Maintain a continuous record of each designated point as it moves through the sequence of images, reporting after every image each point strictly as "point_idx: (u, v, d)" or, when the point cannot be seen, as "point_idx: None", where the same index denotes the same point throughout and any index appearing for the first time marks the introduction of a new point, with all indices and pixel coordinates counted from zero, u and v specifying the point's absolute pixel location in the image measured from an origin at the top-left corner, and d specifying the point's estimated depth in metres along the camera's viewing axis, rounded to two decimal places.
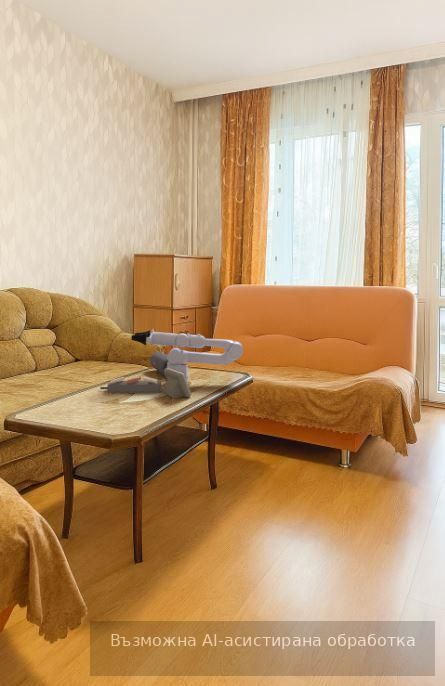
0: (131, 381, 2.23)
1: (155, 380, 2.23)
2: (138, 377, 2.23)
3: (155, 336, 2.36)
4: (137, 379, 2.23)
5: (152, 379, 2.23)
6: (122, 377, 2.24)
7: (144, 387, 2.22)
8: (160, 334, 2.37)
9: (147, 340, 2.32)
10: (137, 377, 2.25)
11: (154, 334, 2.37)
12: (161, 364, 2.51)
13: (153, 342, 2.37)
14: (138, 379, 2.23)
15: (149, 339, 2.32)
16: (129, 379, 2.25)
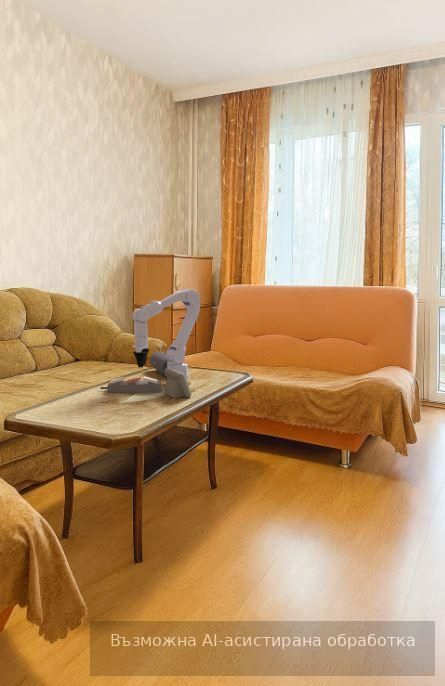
0: (131, 381, 2.23)
1: (155, 380, 2.23)
2: (138, 377, 2.23)
3: (137, 343, 2.29)
4: (137, 379, 2.23)
5: (152, 379, 2.23)
6: (122, 377, 2.24)
7: (144, 387, 2.22)
8: (135, 338, 2.29)
9: (139, 351, 2.25)
10: (137, 377, 2.25)
11: (136, 344, 2.30)
12: (161, 364, 2.51)
13: (144, 344, 2.29)
14: (138, 379, 2.23)
15: (137, 349, 2.25)
16: (129, 379, 2.25)
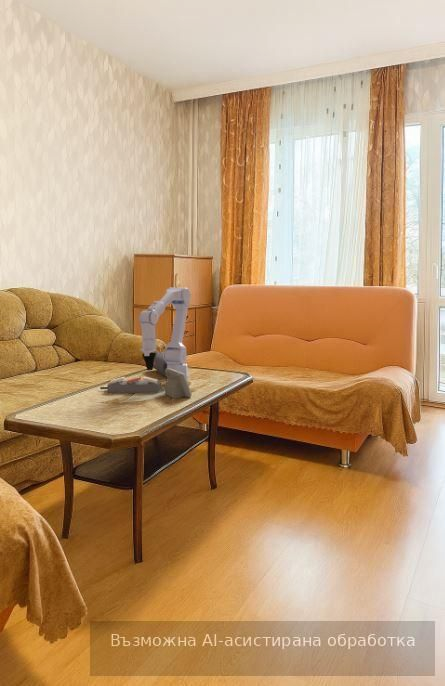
0: (131, 381, 2.23)
1: (155, 380, 2.23)
2: (138, 377, 2.23)
3: (145, 346, 2.19)
4: (137, 379, 2.23)
5: (152, 379, 2.23)
6: (122, 377, 2.24)
7: (144, 387, 2.22)
8: (143, 341, 2.20)
9: (147, 354, 2.15)
10: (137, 377, 2.25)
11: (143, 347, 2.20)
12: (161, 364, 2.51)
13: (152, 348, 2.20)
14: (138, 379, 2.23)
15: (145, 352, 2.15)
16: (129, 379, 2.25)
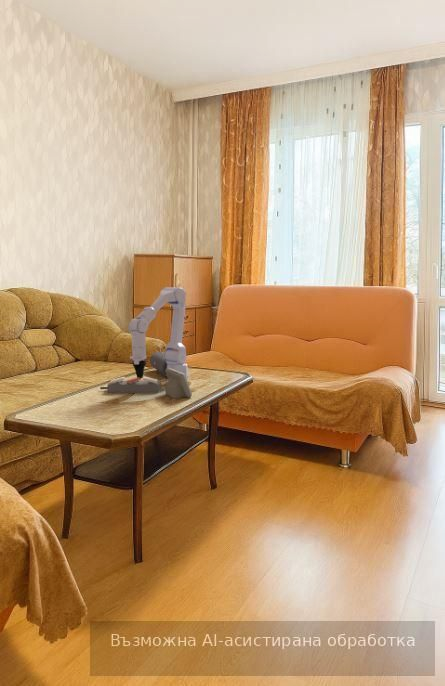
0: (131, 381, 2.23)
1: (155, 380, 2.23)
2: None
3: (135, 354, 2.20)
4: (137, 379, 2.23)
5: (152, 379, 2.23)
6: (122, 377, 2.24)
7: (144, 387, 2.22)
8: (133, 349, 2.21)
9: (136, 363, 2.16)
10: None
11: (133, 355, 2.21)
12: (161, 364, 2.51)
13: (142, 356, 2.20)
14: (138, 379, 2.23)
15: (135, 361, 2.16)
16: (129, 379, 2.25)
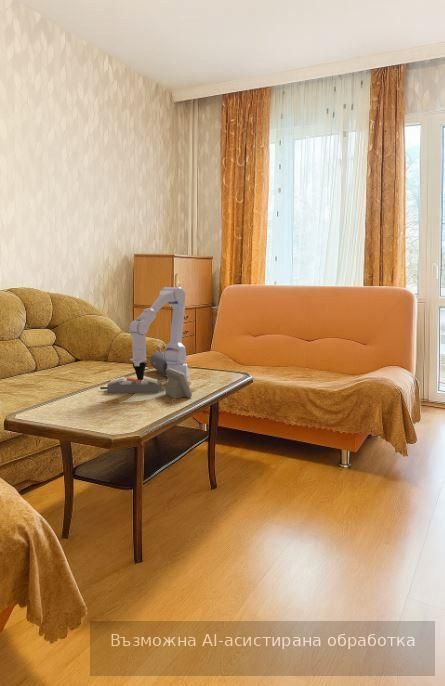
0: (131, 380, 2.23)
1: (155, 380, 2.23)
2: None
3: (135, 356, 2.20)
4: (137, 381, 2.23)
5: (152, 379, 2.23)
6: (122, 377, 2.24)
7: (144, 387, 2.22)
8: (133, 351, 2.21)
9: (137, 365, 2.16)
10: None
11: (134, 357, 2.21)
12: (161, 364, 2.51)
13: (142, 358, 2.21)
14: (138, 381, 2.23)
15: (136, 363, 2.16)
16: (130, 377, 2.25)
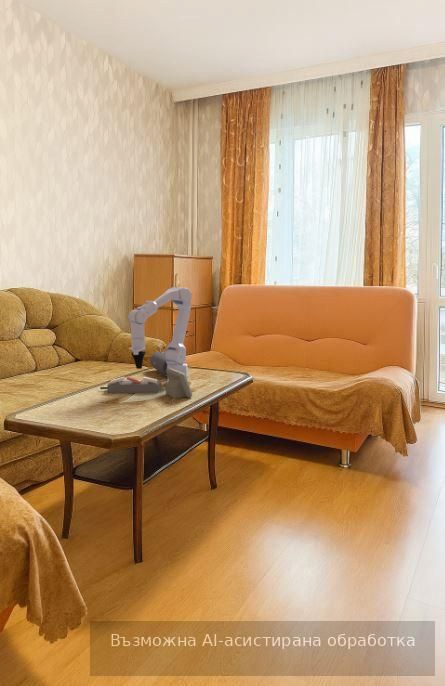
0: (131, 380, 2.23)
1: (155, 380, 2.23)
2: (139, 380, 2.24)
3: (134, 345, 2.23)
4: (137, 382, 2.23)
5: (152, 379, 2.23)
6: (122, 377, 2.24)
7: (144, 387, 2.22)
8: (132, 340, 2.23)
9: (136, 353, 2.19)
10: (138, 379, 2.25)
11: (133, 346, 2.23)
12: (161, 364, 2.51)
13: (141, 346, 2.23)
14: (138, 382, 2.23)
15: (135, 351, 2.18)
16: (129, 376, 2.25)
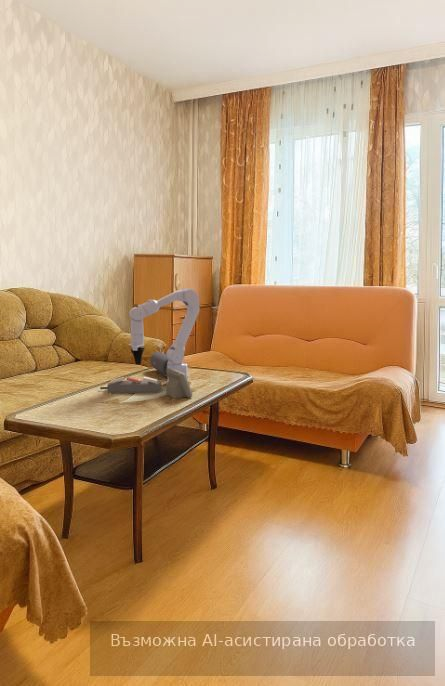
0: (131, 380, 2.23)
1: (155, 380, 2.23)
2: (139, 380, 2.24)
3: (133, 341, 2.31)
4: (137, 381, 2.23)
5: (152, 379, 2.23)
6: (122, 377, 2.24)
7: (144, 387, 2.22)
8: (131, 336, 2.31)
9: (135, 349, 2.27)
10: (138, 379, 2.25)
11: (132, 342, 2.32)
12: (161, 364, 2.51)
13: (140, 343, 2.31)
14: (138, 382, 2.23)
15: (134, 347, 2.27)
16: (130, 377, 2.25)
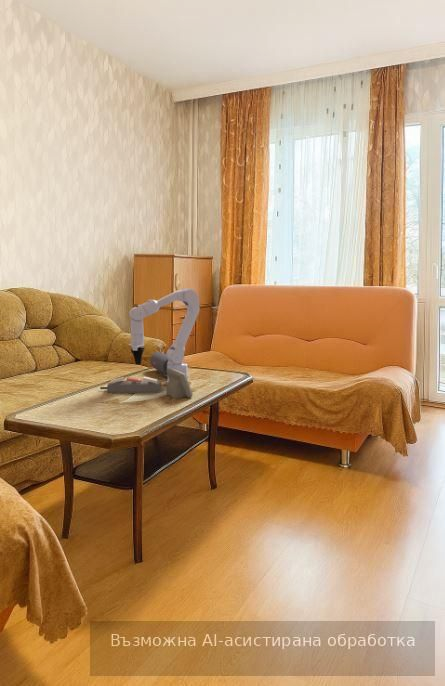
0: (131, 380, 2.23)
1: (155, 380, 2.23)
2: (139, 379, 2.24)
3: (133, 341, 2.31)
4: (137, 381, 2.23)
5: (152, 379, 2.23)
6: (122, 377, 2.24)
7: (144, 387, 2.22)
8: (131, 336, 2.31)
9: (135, 349, 2.27)
10: (138, 379, 2.25)
11: (132, 342, 2.32)
12: (161, 364, 2.51)
13: (140, 343, 2.31)
14: (138, 381, 2.23)
15: (134, 347, 2.27)
16: (130, 377, 2.25)
